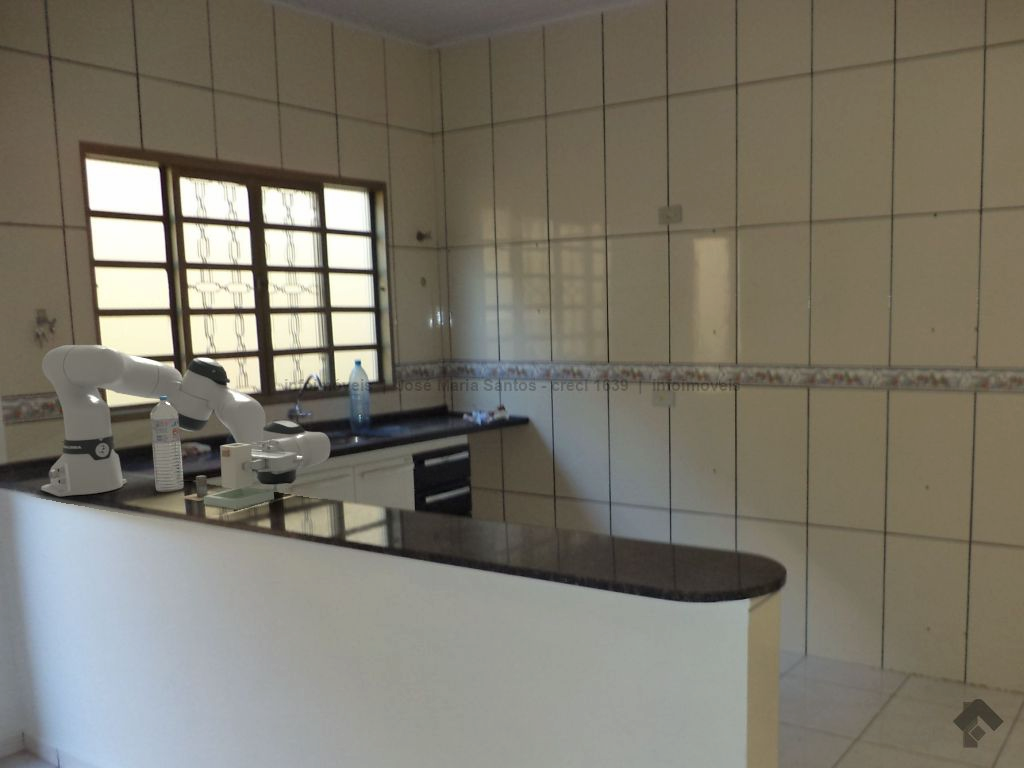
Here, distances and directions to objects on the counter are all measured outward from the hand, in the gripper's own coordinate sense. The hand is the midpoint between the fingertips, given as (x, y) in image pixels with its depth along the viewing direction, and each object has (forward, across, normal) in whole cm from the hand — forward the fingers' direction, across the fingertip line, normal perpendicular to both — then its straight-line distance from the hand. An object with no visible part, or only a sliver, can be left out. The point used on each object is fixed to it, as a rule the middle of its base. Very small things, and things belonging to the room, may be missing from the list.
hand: (235, 465), depth 200 cm
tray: (-1, 0, -9) cm, 9 cm away
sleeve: (0, 0, -5) cm, 5 cm away
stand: (-1, +14, -9) cm, 17 cm away
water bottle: (-3, +30, -10) cm, 32 cm away
